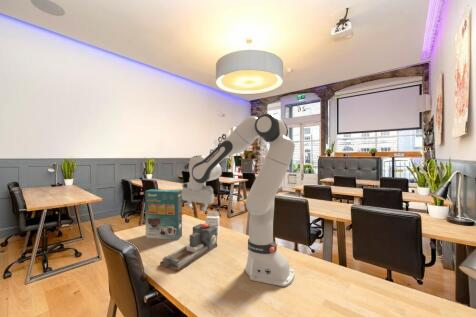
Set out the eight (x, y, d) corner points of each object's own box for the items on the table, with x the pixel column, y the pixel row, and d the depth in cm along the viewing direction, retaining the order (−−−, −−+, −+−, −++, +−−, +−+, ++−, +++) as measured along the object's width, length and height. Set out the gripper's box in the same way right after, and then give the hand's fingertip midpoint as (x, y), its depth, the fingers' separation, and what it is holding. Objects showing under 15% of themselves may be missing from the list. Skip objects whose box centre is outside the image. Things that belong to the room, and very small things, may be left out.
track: (217, 246, 127) (217, 227, 126) (178, 272, 100) (178, 247, 99) (201, 242, 133) (201, 223, 132) (160, 265, 106) (159, 241, 105)
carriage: (203, 248, 120) (203, 233, 119) (196, 253, 114) (196, 237, 114) (193, 246, 123) (193, 231, 123) (186, 250, 118) (186, 234, 118)
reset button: (209, 226, 127) (209, 224, 126) (205, 228, 123) (205, 226, 123) (204, 225, 128) (204, 223, 128) (199, 227, 125) (199, 225, 125)
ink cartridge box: (205, 234, 144) (205, 212, 144) (207, 232, 149) (207, 210, 149) (218, 235, 143) (218, 213, 143) (219, 232, 148) (219, 211, 148)
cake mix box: (182, 235, 142) (181, 190, 141) (178, 239, 136) (177, 192, 135) (150, 233, 145) (150, 189, 144) (145, 237, 139) (145, 190, 138)
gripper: (216, 185, 117) (216, 211, 118) (187, 182, 127) (187, 206, 128) (209, 187, 112) (209, 214, 112) (179, 184, 122) (179, 208, 122)
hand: (197, 209), depth 120 cm, fingers open, 8 cm apart
